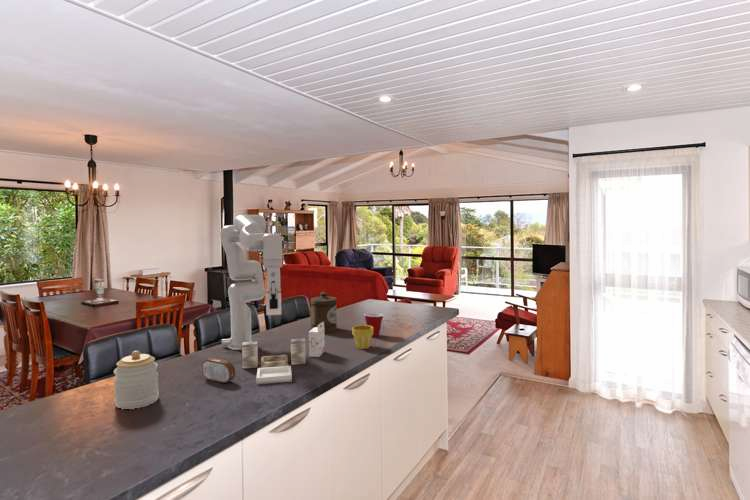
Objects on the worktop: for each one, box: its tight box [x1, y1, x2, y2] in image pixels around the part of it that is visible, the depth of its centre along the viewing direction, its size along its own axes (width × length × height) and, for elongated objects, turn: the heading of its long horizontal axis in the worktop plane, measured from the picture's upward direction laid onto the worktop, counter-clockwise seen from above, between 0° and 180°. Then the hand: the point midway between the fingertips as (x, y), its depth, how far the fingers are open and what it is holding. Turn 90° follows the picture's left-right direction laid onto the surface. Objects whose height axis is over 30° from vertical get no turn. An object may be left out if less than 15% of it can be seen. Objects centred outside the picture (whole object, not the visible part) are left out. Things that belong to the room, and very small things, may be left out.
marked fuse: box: [265, 288, 282, 316], centre depth 172 cm, size 6×4×10 cm, turn 104°
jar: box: [113, 350, 160, 410], centre depth 140 cm, size 13×13×18 cm
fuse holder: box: [241, 337, 307, 369], centre depth 178 cm, size 26×9×10 cm, turn 103°
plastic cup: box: [363, 312, 385, 338], centre depth 224 cm, size 11×11×12 cm
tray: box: [255, 365, 293, 385], centre depth 162 cm, size 13×11×2 cm
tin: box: [201, 356, 236, 384], centre depth 159 cm, size 15×3×8 cm, turn 65°
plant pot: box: [351, 324, 373, 350], centre depth 203 cm, size 10×10×10 cm
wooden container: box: [309, 291, 338, 334], centre depth 236 cm, size 15×15×22 cm
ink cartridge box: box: [308, 322, 326, 358], centre depth 192 cm, size 9×5×15 cm, turn 168°
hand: (273, 307), depth 172 cm, fingers closed on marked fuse, 4 cm apart
